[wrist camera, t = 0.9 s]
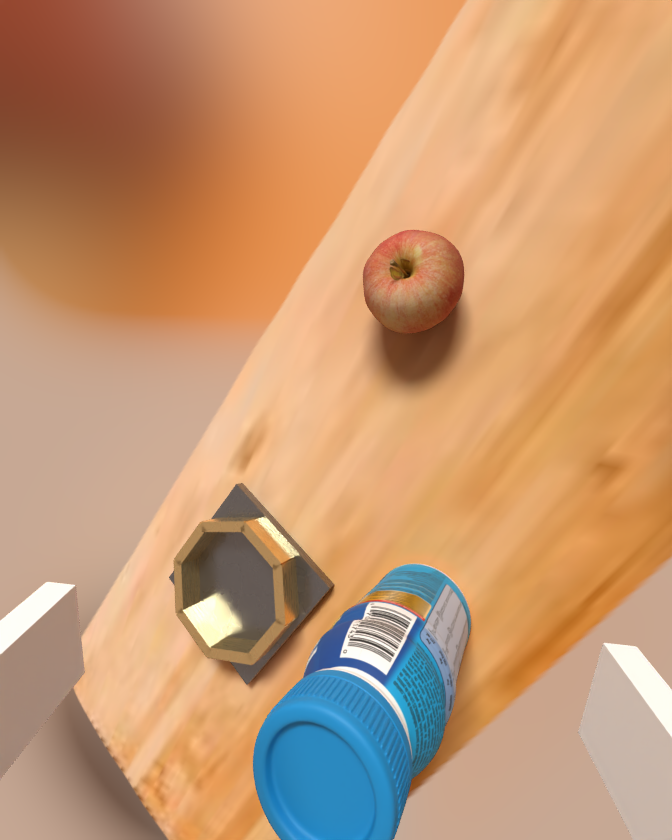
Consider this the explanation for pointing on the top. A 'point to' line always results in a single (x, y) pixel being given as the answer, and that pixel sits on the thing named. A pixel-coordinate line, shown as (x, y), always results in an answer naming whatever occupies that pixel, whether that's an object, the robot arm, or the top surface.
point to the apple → (413, 281)
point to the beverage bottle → (365, 712)
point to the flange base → (244, 584)
